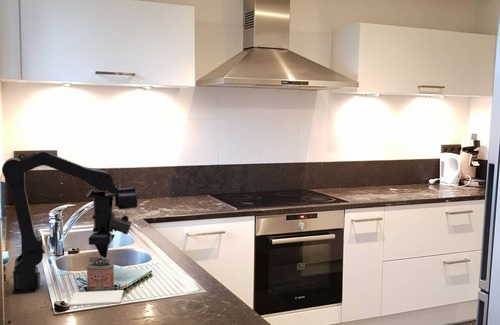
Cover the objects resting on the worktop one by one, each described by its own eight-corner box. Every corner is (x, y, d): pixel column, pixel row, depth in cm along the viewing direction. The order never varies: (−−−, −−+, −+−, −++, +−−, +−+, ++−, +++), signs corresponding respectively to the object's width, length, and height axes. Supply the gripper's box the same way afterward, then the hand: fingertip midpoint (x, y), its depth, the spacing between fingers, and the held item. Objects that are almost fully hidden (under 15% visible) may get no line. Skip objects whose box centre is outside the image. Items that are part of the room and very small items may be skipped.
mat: (67, 306, 133) (67, 304, 133) (74, 294, 142) (74, 292, 142) (120, 303, 135) (120, 301, 135) (123, 291, 144) (123, 289, 144)
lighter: (115, 287, 148) (114, 255, 147) (112, 291, 145) (112, 258, 144) (88, 287, 148) (87, 255, 147) (85, 291, 144) (84, 258, 143)
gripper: (126, 216, 145) (127, 267, 146) (131, 204, 163) (132, 249, 165) (87, 217, 143) (89, 269, 145) (97, 205, 161) (98, 251, 163)
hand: (104, 259), depth 154 cm, fingers closed
